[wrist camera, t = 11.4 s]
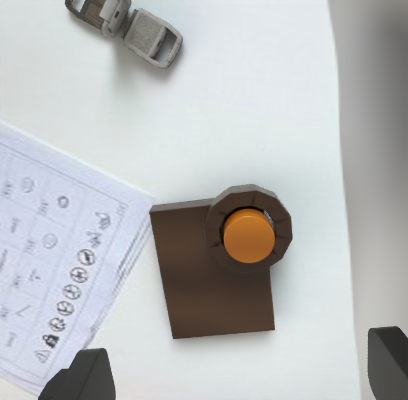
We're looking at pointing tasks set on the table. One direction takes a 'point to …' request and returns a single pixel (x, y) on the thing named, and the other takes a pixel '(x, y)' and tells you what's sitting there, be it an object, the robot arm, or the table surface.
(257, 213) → the light button
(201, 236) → the switch block
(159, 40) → the strap clip
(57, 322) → the table surface
